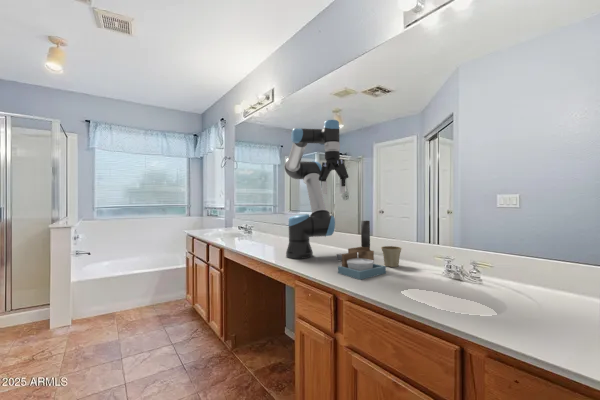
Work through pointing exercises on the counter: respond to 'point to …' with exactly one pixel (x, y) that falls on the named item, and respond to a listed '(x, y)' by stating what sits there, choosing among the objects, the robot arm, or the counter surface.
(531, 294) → the counter surface
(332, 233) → the robot arm
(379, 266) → the frame
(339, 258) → the rail
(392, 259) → the flower pot
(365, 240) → the pusher
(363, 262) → the ramekin
